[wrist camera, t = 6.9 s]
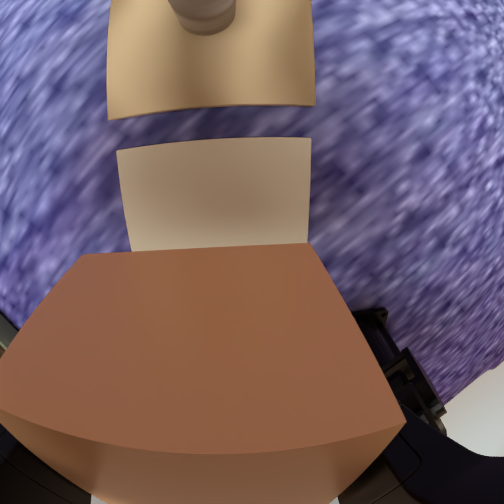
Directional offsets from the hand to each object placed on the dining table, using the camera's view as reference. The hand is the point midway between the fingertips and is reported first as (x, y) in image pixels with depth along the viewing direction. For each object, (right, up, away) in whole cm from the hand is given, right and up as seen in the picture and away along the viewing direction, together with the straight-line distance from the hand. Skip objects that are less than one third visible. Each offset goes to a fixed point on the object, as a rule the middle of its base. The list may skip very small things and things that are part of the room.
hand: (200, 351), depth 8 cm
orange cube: (0, 0, 0) cm, 0 cm away
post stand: (-1, +17, +5) cm, 18 cm away
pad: (-1, +5, +11) cm, 12 cm away
